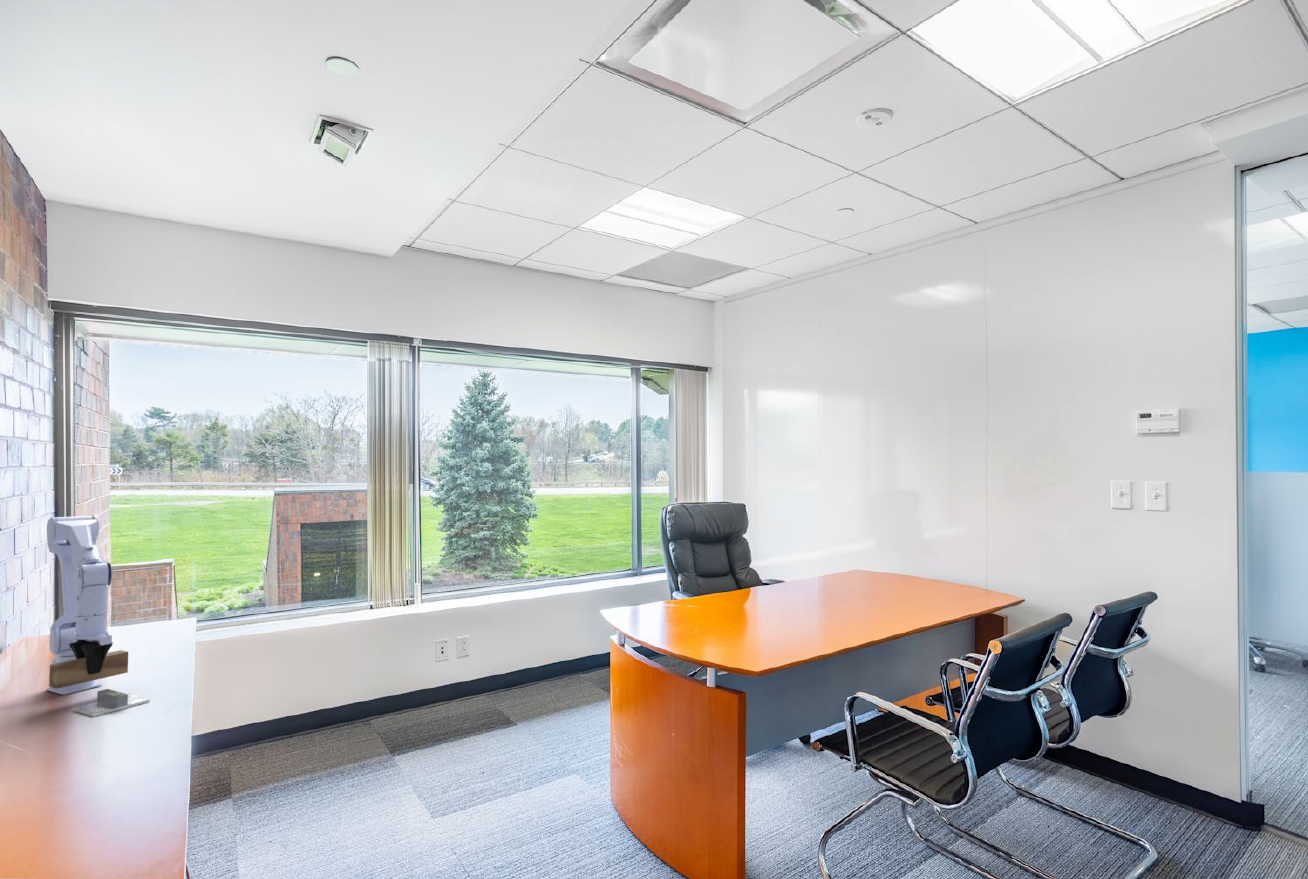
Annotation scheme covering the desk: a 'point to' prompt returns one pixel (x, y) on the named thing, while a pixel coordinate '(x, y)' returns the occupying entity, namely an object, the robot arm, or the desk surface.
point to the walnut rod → (78, 673)
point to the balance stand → (110, 703)
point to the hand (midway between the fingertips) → (90, 672)
